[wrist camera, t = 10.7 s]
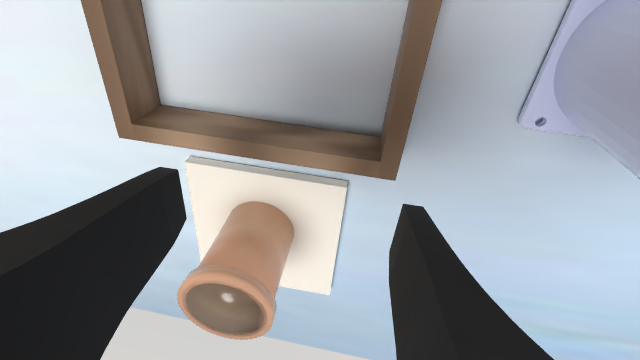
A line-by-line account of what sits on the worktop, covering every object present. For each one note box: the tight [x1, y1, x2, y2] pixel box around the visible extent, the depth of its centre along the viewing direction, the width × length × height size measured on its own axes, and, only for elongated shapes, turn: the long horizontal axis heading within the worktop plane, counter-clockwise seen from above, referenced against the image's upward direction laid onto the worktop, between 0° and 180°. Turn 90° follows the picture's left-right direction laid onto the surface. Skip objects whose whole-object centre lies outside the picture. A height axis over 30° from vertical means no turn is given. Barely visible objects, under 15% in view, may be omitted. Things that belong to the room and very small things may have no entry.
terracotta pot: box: [177, 201, 294, 340], centre depth 22 cm, size 6×6×7 cm
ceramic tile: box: [185, 156, 348, 295], centre depth 25 cm, size 11×11×1 cm
